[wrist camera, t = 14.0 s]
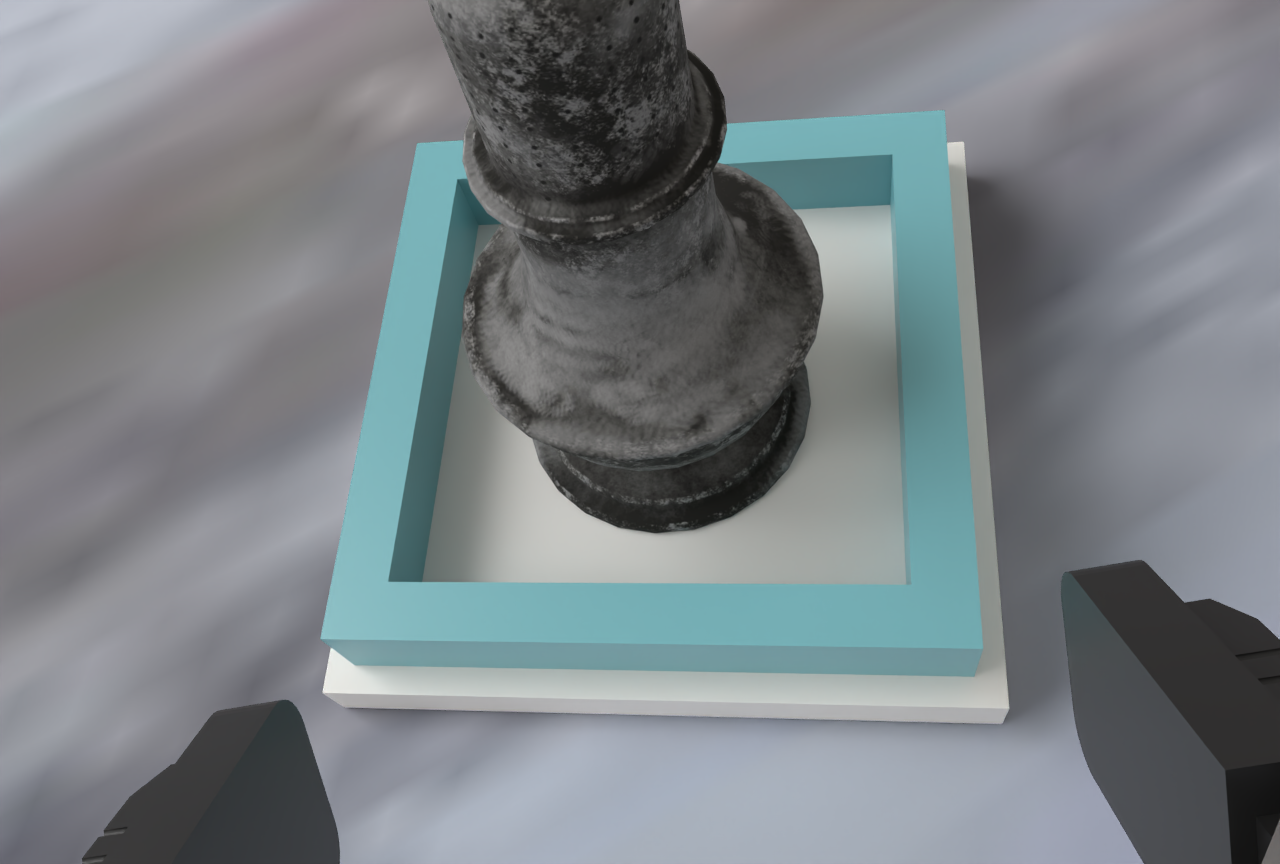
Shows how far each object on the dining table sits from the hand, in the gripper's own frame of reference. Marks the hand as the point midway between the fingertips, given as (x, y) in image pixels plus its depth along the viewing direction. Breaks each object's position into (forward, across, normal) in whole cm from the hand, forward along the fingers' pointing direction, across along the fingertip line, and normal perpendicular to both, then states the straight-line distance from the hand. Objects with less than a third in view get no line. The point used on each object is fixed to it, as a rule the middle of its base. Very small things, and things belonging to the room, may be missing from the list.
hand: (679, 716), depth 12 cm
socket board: (+11, 0, 0) cm, 11 cm away
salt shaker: (+10, 0, 0) cm, 11 cm away
